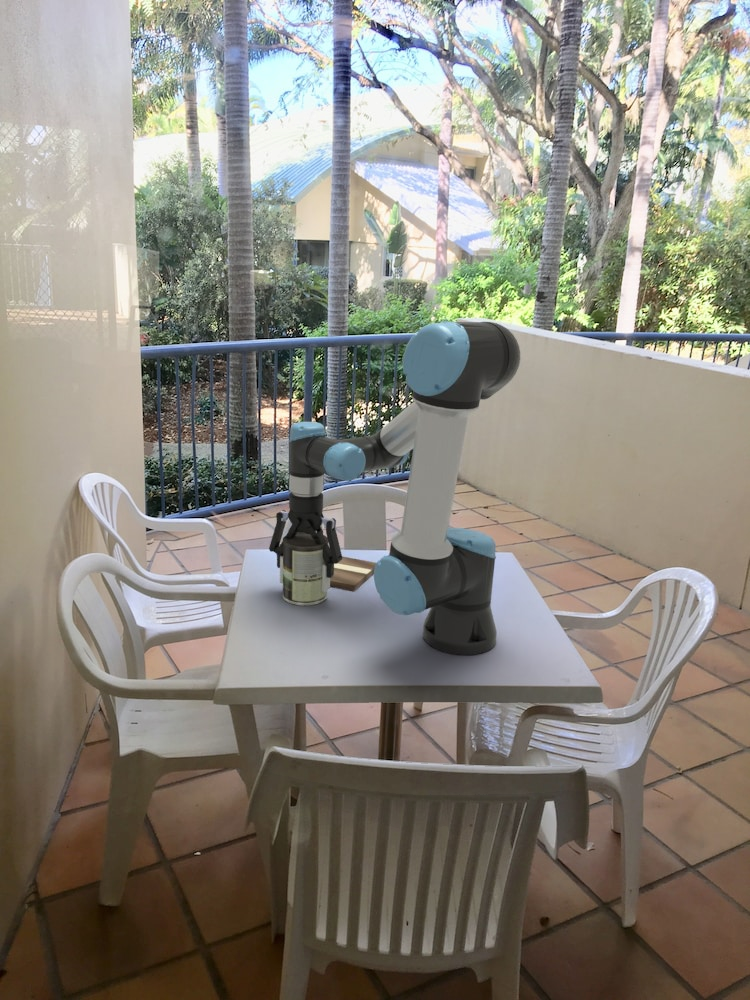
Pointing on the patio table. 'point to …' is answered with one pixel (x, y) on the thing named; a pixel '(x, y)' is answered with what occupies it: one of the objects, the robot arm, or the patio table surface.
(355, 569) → the strip
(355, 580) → the board
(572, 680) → the patio table surface
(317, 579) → the coffee can
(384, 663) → the patio table surface
